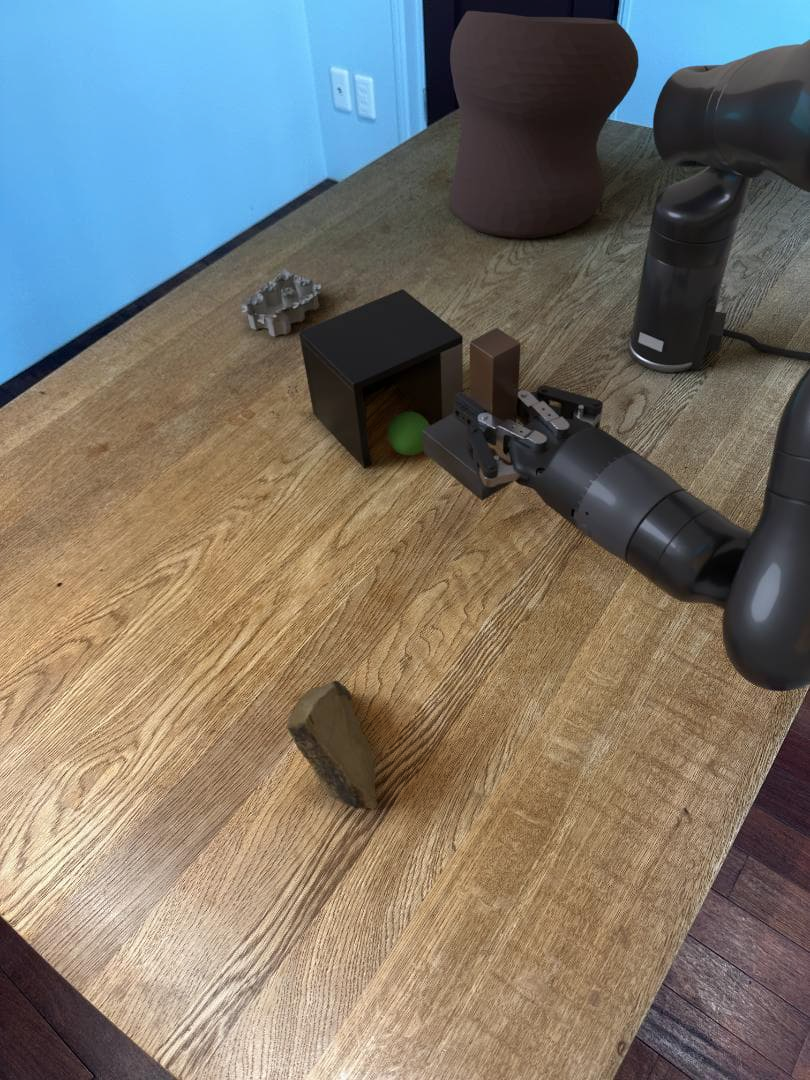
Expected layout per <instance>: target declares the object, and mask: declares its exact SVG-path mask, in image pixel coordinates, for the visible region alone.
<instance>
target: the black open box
mask: <svg viewBox="0 0 810 1080" xmlns="http://www.w3.org/2000/svg"><path fill="white" fill-rule="evenodd" d="M298 335H299V340H300V341H299V342H300V347H301V353H302V358H303V363H304V369H305V374H306V380H307V386H308V390H309V397H310V402H311V407H312V412H313V413H312V414H313V415H314V416H315V417H316V418H317V420H318V421H319V423H321V424H322V425H323V427H325V428H326V429H327V431H328V432H330V434H331V435H332V436H333V437H334V438H335V439H336V440H337V441H338V442H339V444H341V446H343V448H344V449H345V450H346V451H347V452H348V453H349V454H350V455H351V456H352V457H353V459H354V460H356V462H358V464H359V465H360V466H361V467H362V468H363V469H367V468H368V467H370V466H372V458H371V451H370V443H369V433H368V425H367V417H366V409H365V400H364V398H366V397H368V396H370V395H372V394H374V393H376V392H379V391H381V390H383V389H385V388H387V387H389V386H392V385H393V386H394V387H395V388H396V389H397V390H398V391H400V392H401V394H403V395H404V396H405V397H406V398H407V399H408V400H409V401H411V403H413V404H414V405H415V407H417V408H418V409H419V410H420V411H421V412H422V413H423V414H425V415H426V416H427V417H428V418H429V419H430V420H431V421H432V422H433V423H434V424H435V423H436V422H438V421H440V420H442V419H444V418H445V417H447V416H449V415H451V414H453V413H454V411H453V396H454V395H455V394H457V393H459V392H463V393H464V360H463V358H464V357H463V356H464V354H463V353H464V351H463V349H464V347H463V346H464V345H463V343H464V342H463V337H464V336H463V335H462V334H461V333H460V332H458V331H457V330H456V329H454V328H453V327H452V326H451V325H450V324H448V323H447V322H446V321H444V319H442V318H440V317H439V316H438V315H437V314H435V313H434V312H433V311H432V310H431V309H429V308H428V307H427V306H425V305H424V304H423V303H422V302H420V301H419V300H418V299H416V298H415V297H413V296H412V295H411V294H410V293H409V292H407V291H406V290H405V289H403V288H401V289H399V290H396V291H394V292H392V293H389V294H387V295H385V296H384V295H383V296H382V297H379V298H376V299H374V300H372V301H370V302H367V303H365V304H362V305H360V306H358V307H355V308H353V309H351V310H348V311H345V312H343V313H341V314H338V315H336V316H333V317H331V318H328V319H326V320H323V321H321V322H318V323H315V324H314V325H311V326H309V327H306V328H304V329H301V330H298Z"/></svg>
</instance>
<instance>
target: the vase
mask: <svg viewBox="0 0 810 1080" xmlns="http://www.w3.org/2000/svg"><path fill="white" fill-rule="evenodd" d="M449 54H450V55H449V62H450V63H449V64H450V71H451V76H452V82H453V83H452V84H453V89H454V92H455V93H454V94H455V95H456V96H455V97H456V100H457V103H458V108H459V114H460V136H459V143H458V150H457V154H456V161H455V166H454V171H453V176H452V181H451V186H450V190H449V197H448V199H449V205H450V208H451V210H452V212H453V213H454V215H455V216H456V218H457V219H458V220H459V221H460V222H462V223H463V224H465V225H466V226H467V227H469V228H471V229H473V230H475V231H478V232H479V233H483V234H487V235H491V236H494V237H495V236H496V237H503V238H516V239H534V238H535V239H537V238H542V237H549V236H554V235H558V234H562V233H565V232H567V231H571V230H572V229H573V230H574V229H575V228H576V227H578V226H579V225H581V224H583V223H585V222H586V221H587V220H588V219H590V218H591V217H592V216H593V215H594V213H596V211H597V209H598V208H599V205H600V204H601V201H602V199H603V197H604V193H605V190H606V177H605V171H604V169H603V167H602V165H601V162H600V159H599V157H598V150H597V145H598V141H599V137H600V134H601V132H602V130H603V128H604V126H605V125H606V122H607V120H608V119H609V118H610V116H611V115H612V114H613V112H615V110H616V109H617V108H618V106H620V104H621V103H622V102H623V100H624V99H625V97H626V96H627V95H628V93H629V92H630V90H631V88H632V87H633V85H634V82H635V80H636V78H637V73H638V71H639V52H638V49H637V47H636V45H635V43H634V41H633V39H632V37H631V36H630V34H629V33H628V32H627V31H626V29H625V28H624V27H623V26H622V25H621V24H620V23H619V22H618V21H617V20H613V19H606V18H595V17H570V16H569V17H568V16H567V17H565V16H559V17H557V16H523V15H516V14H509V13H502V12H501V13H500V12H491V11H490V12H489V11H486V12H485V11H478V10H467V11H466V12H465V13H464V15H463V16H462V18H461V20H460V21H459V23H458V25H457V27H456V29H455V30H454V33H453V37H452V39H451V44H450V52H449Z"/></svg>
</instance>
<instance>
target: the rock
mask: <svg viewBox="0 0 810 1080" xmlns="http://www.w3.org/2000/svg"><path fill="white" fill-rule="evenodd" d="M286 730H287V731H288V733H289V735H290V737H291V738H292V740H293V743H294V744H295V746H296V748H297V750H298V751H299V752H300V753H301V754H302V756H303V758H305V759H306V760H307V762H308V764H310V766H311V767H312V768H311V769H312V771H313V773H314V775H315V776H316V778H317V781H318V782H319V784H320V786H321V787H322V789H323V791H324V793H325V794H326V795H327V796H329V797H330V798H332V799H333V800H337V801H339V802H340V803H343V804H346V805H348V806H350V807H352V808H359V809H370V810H375V809H376V808H377V807H378V800H377V799H376V783H375V781H376V776H377V775H376V767H377V765H376V763H375V758H374V756H373V752H372V747H371V746H370V744H369V742H368V739H367V737H366V736H365V735H364V733H363V730H362V725H361V724H360V722H359V720H358V718H357V717H356V715H355V714H354V698H353V695H352V693H351V691H350V690H348V688H347V687H346V686H345V685H342V684H341V682H339V681H338V680H332V681H329V682H328V683H326V684H324V685H322V686H317V687H311V688H310V689H308V690H307V691H306V693H303V695H302V696H300V697H299V698H297V704H296V705H295V706H294V707H293V709H292V711H291V712H290V714H289V716H288V717H287V720H286Z"/></svg>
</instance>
